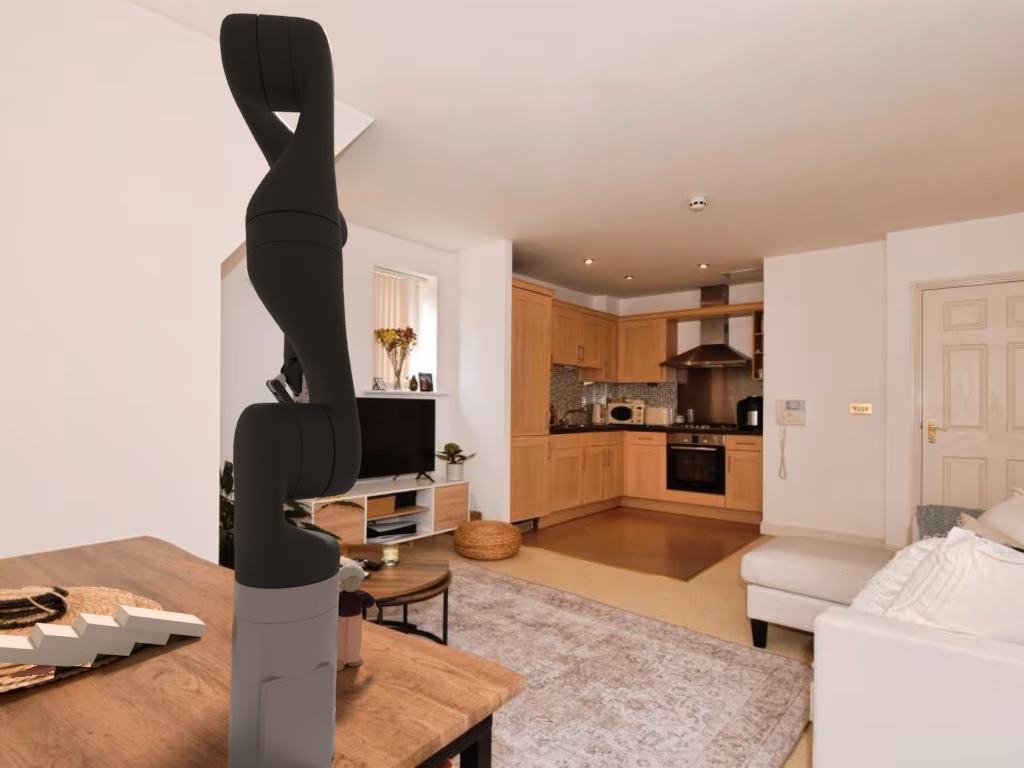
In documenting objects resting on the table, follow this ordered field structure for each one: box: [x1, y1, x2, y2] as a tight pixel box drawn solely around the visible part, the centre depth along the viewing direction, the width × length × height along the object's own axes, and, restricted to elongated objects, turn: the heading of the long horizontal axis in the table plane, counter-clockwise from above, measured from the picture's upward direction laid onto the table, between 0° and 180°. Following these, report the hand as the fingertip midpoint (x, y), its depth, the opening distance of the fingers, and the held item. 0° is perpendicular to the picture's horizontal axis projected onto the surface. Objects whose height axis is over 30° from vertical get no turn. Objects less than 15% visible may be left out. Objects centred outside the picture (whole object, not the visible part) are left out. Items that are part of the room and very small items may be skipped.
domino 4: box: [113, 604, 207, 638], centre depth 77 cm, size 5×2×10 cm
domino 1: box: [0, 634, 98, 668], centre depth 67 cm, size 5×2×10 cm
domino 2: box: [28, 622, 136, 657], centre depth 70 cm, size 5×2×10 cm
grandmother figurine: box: [336, 562, 380, 672], centre depth 72 cm, size 8×4×13 cm, turn 136°
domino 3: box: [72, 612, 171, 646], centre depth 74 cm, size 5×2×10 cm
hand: (306, 439), depth 89 cm, fingers closed
